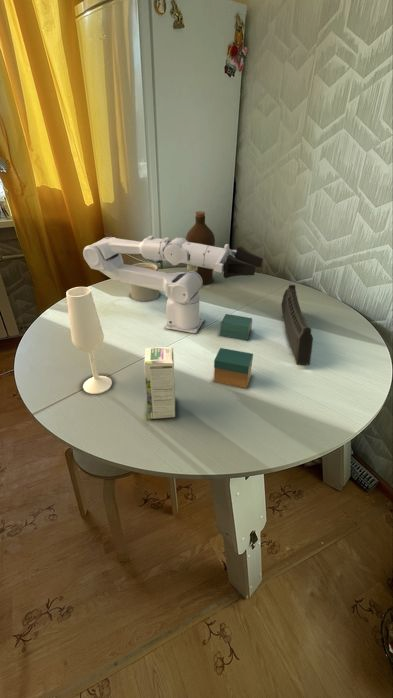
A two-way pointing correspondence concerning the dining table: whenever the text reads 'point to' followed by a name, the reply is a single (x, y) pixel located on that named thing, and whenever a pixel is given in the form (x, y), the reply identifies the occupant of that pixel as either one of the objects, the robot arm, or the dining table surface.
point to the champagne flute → (86, 333)
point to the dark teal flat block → (233, 360)
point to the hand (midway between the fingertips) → (258, 266)
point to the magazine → (296, 328)
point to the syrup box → (160, 382)
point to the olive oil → (201, 236)
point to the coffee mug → (144, 292)
